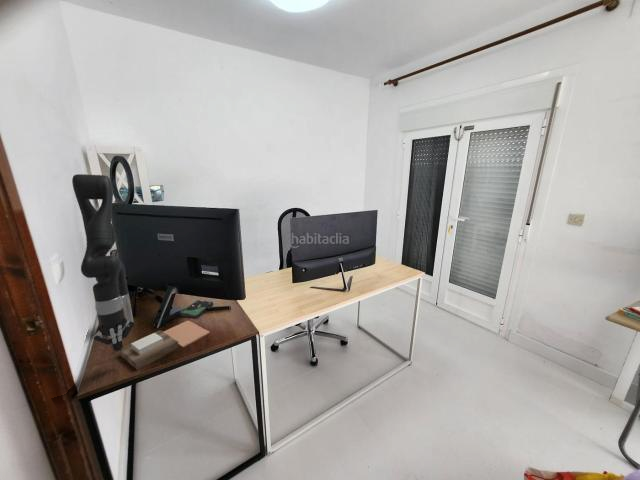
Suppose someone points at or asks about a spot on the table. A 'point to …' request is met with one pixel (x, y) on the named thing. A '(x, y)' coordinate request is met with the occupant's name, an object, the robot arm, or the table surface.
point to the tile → (147, 343)
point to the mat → (186, 333)
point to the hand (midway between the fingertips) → (118, 350)
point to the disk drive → (196, 309)
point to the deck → (149, 352)
